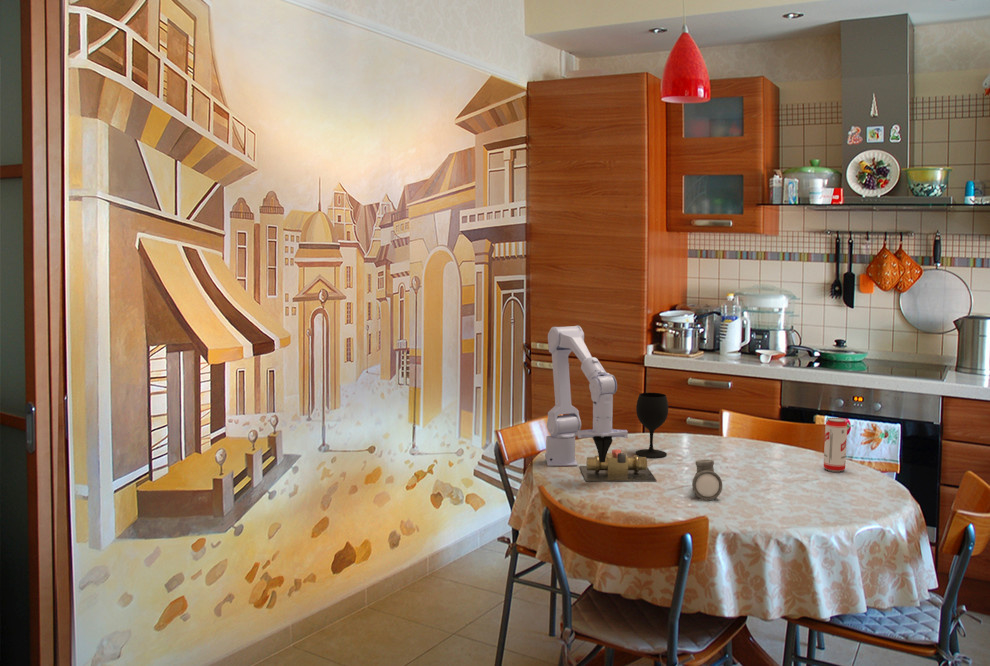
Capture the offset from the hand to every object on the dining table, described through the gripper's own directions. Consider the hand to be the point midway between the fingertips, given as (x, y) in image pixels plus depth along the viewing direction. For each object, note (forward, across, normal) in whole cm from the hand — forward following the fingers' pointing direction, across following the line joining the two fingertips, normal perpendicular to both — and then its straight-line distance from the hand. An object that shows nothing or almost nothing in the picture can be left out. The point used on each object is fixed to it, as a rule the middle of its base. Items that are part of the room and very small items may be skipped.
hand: (602, 461), depth 251 cm
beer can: (+6, +74, +10) cm, 75 cm away
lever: (0, +6, +4) cm, 7 cm away
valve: (+6, +6, +9) cm, 12 cm away
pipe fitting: (+6, +28, -12) cm, 31 cm away
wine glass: (+6, +21, +31) cm, 38 cm away
